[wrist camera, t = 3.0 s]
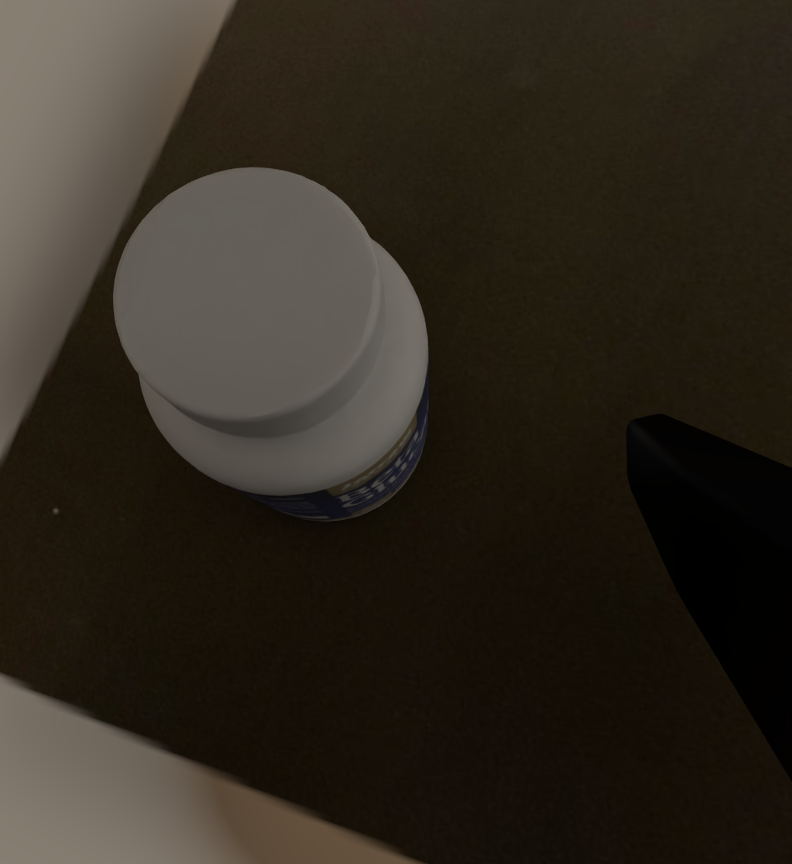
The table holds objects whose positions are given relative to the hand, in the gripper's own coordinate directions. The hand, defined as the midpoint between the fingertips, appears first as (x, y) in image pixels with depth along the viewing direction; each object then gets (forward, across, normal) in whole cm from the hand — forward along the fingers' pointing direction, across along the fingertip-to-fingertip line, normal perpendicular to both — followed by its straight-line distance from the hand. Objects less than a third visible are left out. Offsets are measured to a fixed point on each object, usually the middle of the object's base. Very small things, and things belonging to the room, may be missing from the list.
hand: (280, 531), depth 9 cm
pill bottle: (+10, 0, +5) cm, 11 cm away
